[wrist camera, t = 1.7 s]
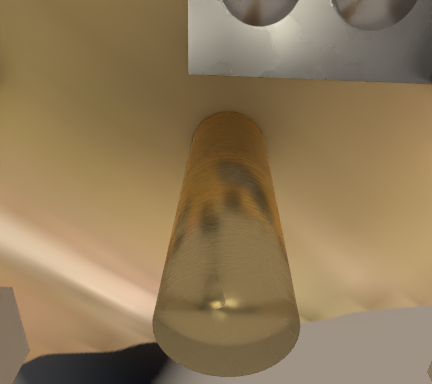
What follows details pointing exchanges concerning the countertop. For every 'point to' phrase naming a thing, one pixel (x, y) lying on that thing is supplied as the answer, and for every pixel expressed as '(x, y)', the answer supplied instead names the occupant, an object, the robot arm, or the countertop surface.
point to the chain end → (312, 39)
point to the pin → (227, 259)
